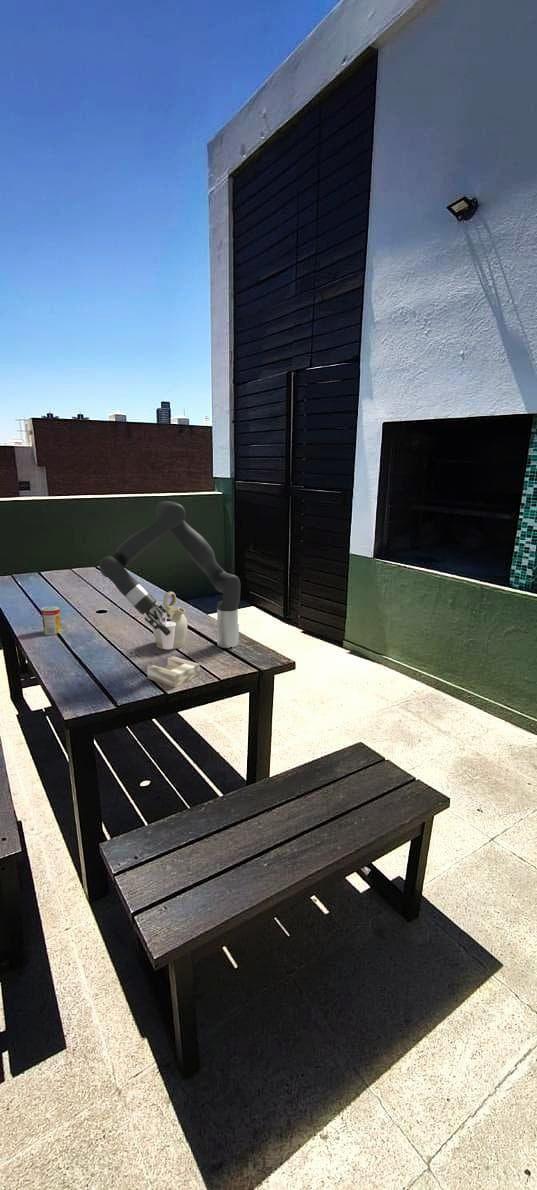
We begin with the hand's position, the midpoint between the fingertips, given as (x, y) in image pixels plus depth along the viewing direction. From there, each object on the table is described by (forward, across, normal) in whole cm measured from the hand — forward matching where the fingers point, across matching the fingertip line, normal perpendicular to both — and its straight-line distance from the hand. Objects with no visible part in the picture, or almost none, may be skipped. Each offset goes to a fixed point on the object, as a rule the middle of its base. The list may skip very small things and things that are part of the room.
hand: (171, 630), depth 184 cm
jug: (+5, +32, +21) cm, 39 cm away
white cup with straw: (+4, 0, +6) cm, 7 cm away
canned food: (-37, +38, +64) cm, 83 cm away
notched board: (+13, -1, +12) cm, 18 cm away
